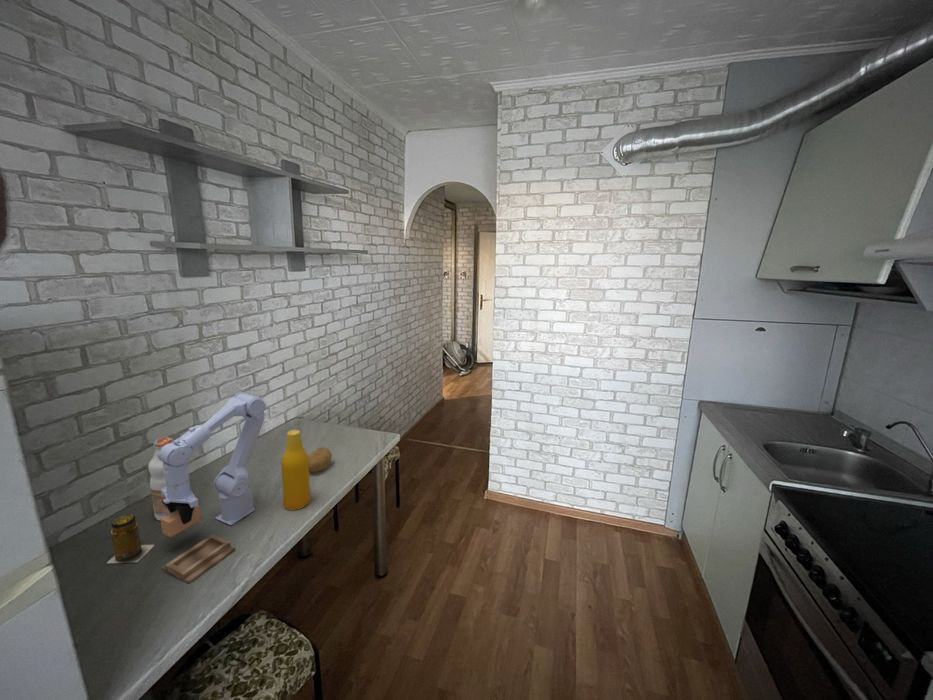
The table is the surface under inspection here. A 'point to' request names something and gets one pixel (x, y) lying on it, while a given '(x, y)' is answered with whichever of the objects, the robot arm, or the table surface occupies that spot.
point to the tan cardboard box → (178, 522)
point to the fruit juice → (158, 479)
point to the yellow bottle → (295, 472)
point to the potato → (319, 459)
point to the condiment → (127, 541)
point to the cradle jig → (199, 559)
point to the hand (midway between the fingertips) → (182, 519)
